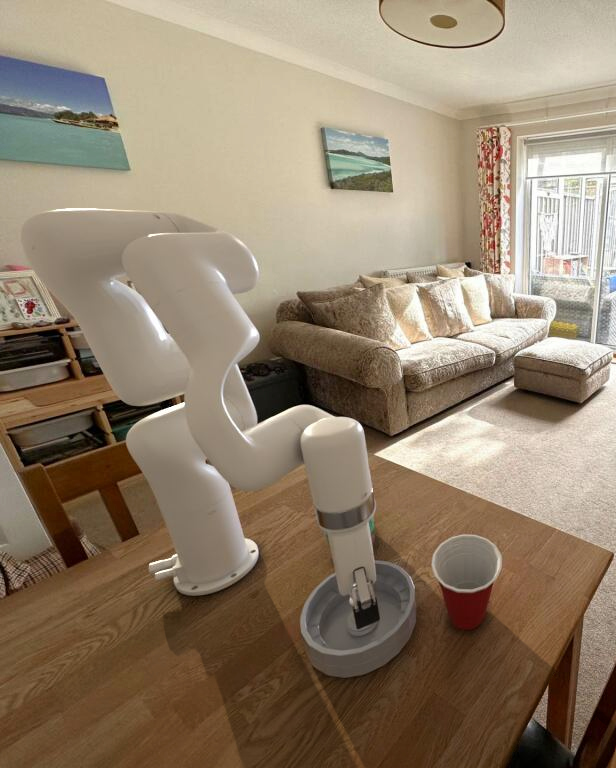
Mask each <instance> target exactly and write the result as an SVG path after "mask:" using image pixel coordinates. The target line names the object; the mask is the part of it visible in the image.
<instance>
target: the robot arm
mask: <svg viewBox="0 0 616 768" xmlns="http://www.w3.org/2000/svg"><path fill="white" fill-rule="evenodd" d="M20 230H21V231H20V242H21V246H22V250H23V253H24V255H25V258H26V260H27V262H28V264H29V265H30V267H31V269H32V271H33V272H34V274H35V275H36V277H37V278H38V279H39V281H40V282H41V283H42V285H43V286H44V287H45V288H46V289H47V291H48V292H49V293H51V294H52V295H53V297H54V298H56V300H58V302H59V303H60V304H61V305H62V306H63V307H64V308H65V309H66V310H67V312H68V313H69V314H70V315H71V316H72V318H74V320H75V322H76V323H77V325H78V326H79V328H80V330H81V332H82V335H83V337H84V338H85V341H86V342H87V345H88V346H89V348H90V351H91V352H92V354H93V356H94V359H95V360H96V362H97V363H98V366H99V368H100V369H101V371H102V374H103V375H104V377H105V379H106V381H107V382H108V384H109V386H110V387H111V389H112V391H113V393H115V395H116V397H118V398H119V400H121V401H122V402H123V403H125V404H127V405H129V406H133V407H134V406H135V407H142V406H143V407H144V406H150V405H153V404H157V403H161V402H164V401H166V400H170V399H174V398H177V397H179V396H182V395H184V397H183V402H181V403H179V404H176V405H173V406H171V407H170V406H169V407H167V408H164V409H161V410H159V411H157V412H154V413H152V414H149V415H147V416H146V417H144V418H142V419H140V420H139V421H137V422H136V423H134V424H133V425H132V426H131V427H130V429H128V431H127V434H126V436H125V445H126V448H127V451H128V453H129V455H130V456H131V458H132V460H133V461H134V462H135V464H136V465H137V467H138V468H139V470H140V471H141V472H142V474H143V476H144V477H145V479H146V481H147V483H148V485H149V486H150V488H151V491H152V494H153V495H154V498H155V500H156V503H157V506H158V508H159V511H160V513H161V516H162V518H163V521H164V524H165V527H166V530H167V532H168V535H169V537H170V541H171V543H172V545H173V548H174V552H175V554H173V555H172V556H171V557H170V558H166V559H161V560H158V561H155V562H154V561H153V562H150V563H149V565H148V572H149V574H150V575H151V576H153V575H154V580H155V582H159V581H162V580H165V579H167V578H172V577H173V584H174V588H175V589H176V590H177V591H178V592H179V593H180V594H183V595H184V596H185V595H186V596H193V597H194V596H195V597H197V596H204V595H210V594H213V593H217V592H219V591H221V590H224V589H226V588H228V587H230V586H232V585H234V584H236V583H237V582H239V581H240V580H241V579H243V578H244V577H245V576H246V575H247V574H248V573H249V572H250V571H252V569H253V568H254V566H255V565H256V563H257V561H258V559H259V554H260V552H259V547H258V545H257V543H256V542H254V540H252V539H250V538H246V537H245V535H244V533H243V532H244V531H243V528H242V525H241V521H240V518H239V517H240V516H239V514H238V510H237V506H236V503H235V499H234V496H233V493H232V489H231V486H232V487H234V488H235V489H237V490H238V491H239V490H240V491H242V492H245V493H246V492H247V493H248V492H249V493H254V492H255V493H256V492H259V491H263V490H265V489H267V488H269V487H271V486H273V485H274V484H275V483H277V482H278V481H280V480H282V479H283V478H285V477H286V476H288V475H290V473H293V472H294V471H295V470H297V469H299V468H301V466H304V468H305V472H306V476H307V481H308V482H307V483H308V487H309V490H310V496H311V500H312V504H313V509H314V514H315V518H316V523H317V526H318V528H319V529H320V530H321V531H322V530H323V531H325V532H327V533H328V539H329V544H330V547H329V549H331V550H330V555H331V559H332V563H333V567H334V573H336V578H337V582H338V587H339V592H340V594H341V595H343V596H345V595H348V594H350V593H351V592H352V597H353V602H354V606H353V607H352V608H353V613H354V618H355V623H356V628H357V629H361V628H363V627H366V626H368V625H370V624H373V623H375V622H377V621H379V620H380V616H379V609H378V603H377V598H376V597H375V595H374V591H373V586H372V584H374V583H375V582H376V571H375V562H374V560H375V556H374V545H373V546H372V540H371V533H370V527H369V520H370V519H371V518H372V517H374V516H375V514H376V509H375V502H376V501H375V502H374V499H375V497H374V490H373V483H372V477H371V468H370V463H369V457H368V449H367V442H366V436H365V431H364V428H363V426H362V424H361V423H360V422H359V421H358V420H356V419H354V418H351V417H347V416H334V415H332V414H330V413H328V412H327V411H325V410H323V409H321V408H319V407H316V406H314V405H310V404H300V405H296V406H293V407H290V408H288V409H286V410H284V411H282V412H280V413H278V414H276V415H274V416H271V417H269V418H267V419H264V420H263V421H260V422H258V414H257V410H256V407H255V405H254V402H253V400H252V396H251V395H250V392H249V389H248V387H247V385H246V382H245V380H244V377H243V375H242V373H241V370H240V368H239V365H238V363H240V362H241V361H242V360H243V359H244V358H246V357H247V356H249V355H250V353H251V352H252V351H253V350H255V349H256V347H257V346H258V344H259V343H260V339H261V338H260V337H261V336H260V333H259V331H258V329H257V328H256V326H255V325H254V324H253V322H252V320H251V319H250V317H249V316H248V315H247V313H246V312H245V310H244V309H243V307H242V306H241V305H240V304H239V302H238V301H237V299H236V297H235V296H234V295H236V294H237V295H238V294H243V293H247V292H249V291H252V290H253V289H254V288H255V287H256V286H257V285H258V282H259V277H260V271H259V265H258V262H257V260H256V258H255V256H254V254H253V253H252V251H251V250H250V249H249V247H247V245H246V244H245V243H244V242H243V241H242V240H240V238H238V237H236V236H235V235H233V234H232V233H230V232H227V231H225V230H223V229H220V228H217V227H215V226H213V225H209V224H207V223H204V222H202V221H199V220H196V219H194V218H192V217H189V216H186V215H183V214H179V213H177V212H170V211H158V210H130V209H129V210H128V209H126V210H124V209H109V208H107V209H106V208H61V209H51V210H47V211H43V212H38V213H36V214H35V213H34V214H33V215H31V216H29V217H28V218H27V219H26V220H25V221H24V222H23V224H22V226H21V229H20ZM120 277H127V278H128V279H129V280H130V282H131V284H132V285H133V286H134V287H135V289H136V290H137V291H136V290H135V289H134V288H132V287H130V286H128V285H126V284H125V283H123V282H121V281H119V280H117V279H115V278H120ZM207 460H208V461H209V463H210V464H208V463H207V462H206V461H207ZM230 485H231V486H230ZM329 544H328V545H329ZM365 576H366V577H367V578H368V581H366V577H365ZM354 580H356V584H357V585H356V586H353V585H354ZM368 588H369V590H368ZM357 590H358V593H359V598H360V601H357V596H356V591H357ZM369 593H370V594H369Z"/></svg>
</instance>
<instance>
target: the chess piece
mask: <svg viewBox="0 0 616 768" xmlns="http://www.w3.org/2000/svg"><path fill="white" fill-rule="evenodd" d="M356 585H357V584H356V583H355V584H354V585H353V586H356ZM349 595H350V600H349V602H350V604H351V605H352V606H354V602H353V597H352V592H351V593H350V594H349ZM356 596H357V601H360V598H359V593H358V590H357V591H356ZM377 623H378V621H377V622H375V623H373V624H370V625H368V626H366V627H363V628H361V629H357V628H356V623H355V618H354V613H353V611H352V612H351V613H350V615H349V616H348V619H347V630H348V632H349V633H350V634H352V635H355V636H362V635H366V634H368V633H369V632H371V631H372V630H373V629H374V628H375V626H376V625H377Z"/></svg>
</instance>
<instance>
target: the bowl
mask: <svg viewBox="0 0 616 768" xmlns="http://www.w3.org/2000/svg"><path fill="white" fill-rule="evenodd" d="M374 562H375V571H376V582H375V583H374V584H372V586H373V591H374V595H375V597H376V598H377V603H378V609H379V616H380V620H379V621H378V623H377V625H376V626H375V628H374V629H373V630H372V631H371V632H369V633H368V634H366V635H362V636H355V635H352V634H350V633H349V632H348V630H347V619H348V616H349V615H350V613H351V612H352V611H353V608H352V607H353V606H352V605H351V604H350V602H349V600H350V595H349V594H348V595H345V596H343V595H341V594H340V592H339V587H338V582H337V578H336V573H335V572H333V573H332V574H330V575H328V576H327V577H326V578H325V579H324V580H322V581H321V582H320V583H319V584H318V585H317V586H316V587H314V589H313V590H312V591H311V593H310V594H309V596H308V597H307V599H306V600H305V602H304V605H303V608H302V611H301V614H300V617H299V624H300V633H301V634H300V635H301V638H302V642H303V646H304V651H305V654H306V657H307V659H308V660H309V662H310V664H311V665H312V666H313V667H314V668H315V669H316V670H317V671H319V672H321V673H323V674H324V675H325V676H329V677H336V678H343V679H348V678H353V677H358V676H364V675H366V674H368V673H371V672H373V671H375V670H377V669H379V668H382V667H384V666H385V665H387V663H388V662H390V661H391V660H392V659H394V658H395V657H396V656H397V655H399V653H401V652H402V649H403V648H404V647H405V645H406V644H407V643H408V642H409V640H410V639H411V637H412V634H413V631H414V629H415V626H416V623H417V599H416V588H415V585H414V583H413V580H412V577H411V575H410V574H409V573H408V572H407V571H406V570H405V569H404V568H403V567H401V566H399V565H397V564H395V563H393V562H391V561H386V560H385V561H384V560H376V559H374ZM365 577H366V576H365ZM366 581H368V578H367V577H366ZM355 583H356V580H354V584H355ZM368 590H369V588H368ZM369 594H370V593H369ZM313 667H312V668H313Z"/></svg>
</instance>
